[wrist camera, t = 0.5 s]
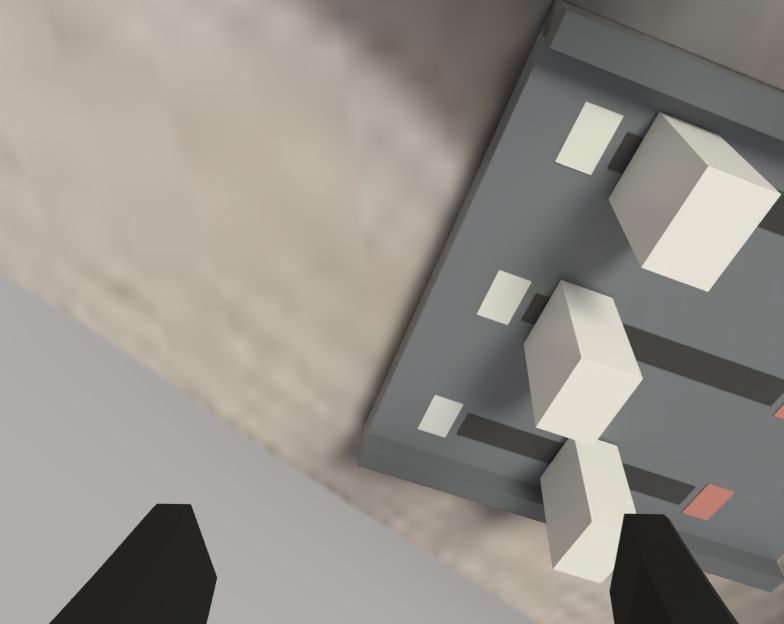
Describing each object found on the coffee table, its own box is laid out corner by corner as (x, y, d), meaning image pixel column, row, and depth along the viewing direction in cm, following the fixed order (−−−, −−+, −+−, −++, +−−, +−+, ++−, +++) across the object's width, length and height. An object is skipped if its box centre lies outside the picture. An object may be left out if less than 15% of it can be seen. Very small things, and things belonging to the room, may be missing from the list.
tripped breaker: (617, 445, 21) (643, 537, 18) (581, 491, 23) (600, 583, 20) (573, 431, 21) (591, 521, 18) (540, 477, 22) (552, 569, 19)
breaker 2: (718, 134, 16) (781, 194, 13) (663, 219, 17) (708, 291, 14) (659, 111, 15) (708, 165, 12) (607, 199, 17) (641, 267, 14)
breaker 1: (612, 297, 18) (643, 378, 15) (572, 360, 20) (592, 445, 17) (560, 279, 18) (581, 357, 15) (523, 343, 19) (535, 426, 16)
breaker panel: (1103, 220, 17) (1173, 256, 16) (750, 545, 25) (770, 592, 24) (555, -3, 15) (567, 10, 14) (364, 424, 24) (357, 465, 22)
